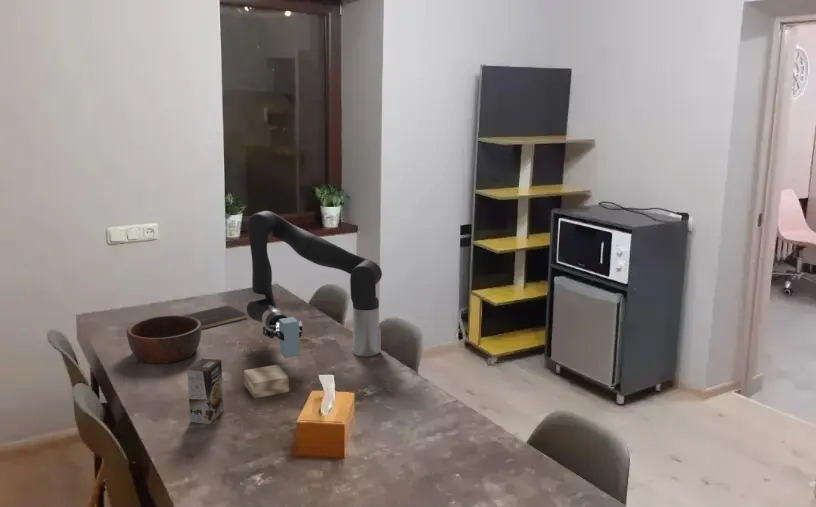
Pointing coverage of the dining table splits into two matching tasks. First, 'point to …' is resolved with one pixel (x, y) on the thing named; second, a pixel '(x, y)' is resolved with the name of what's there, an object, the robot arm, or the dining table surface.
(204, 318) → the hardcover book
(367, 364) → the dining table surface
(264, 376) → the birch block
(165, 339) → the wooden bowl
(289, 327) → the blue pillar
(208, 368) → the coffee box
